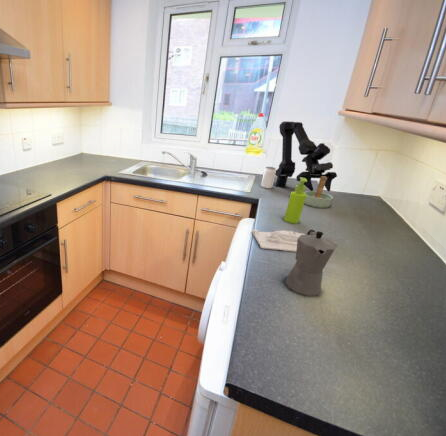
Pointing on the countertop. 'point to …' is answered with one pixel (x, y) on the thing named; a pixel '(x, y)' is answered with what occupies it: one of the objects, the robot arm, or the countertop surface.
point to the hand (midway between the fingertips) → (320, 190)
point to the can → (268, 177)
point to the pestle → (320, 187)
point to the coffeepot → (310, 263)
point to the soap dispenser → (296, 203)
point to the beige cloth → (277, 240)
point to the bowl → (318, 200)
